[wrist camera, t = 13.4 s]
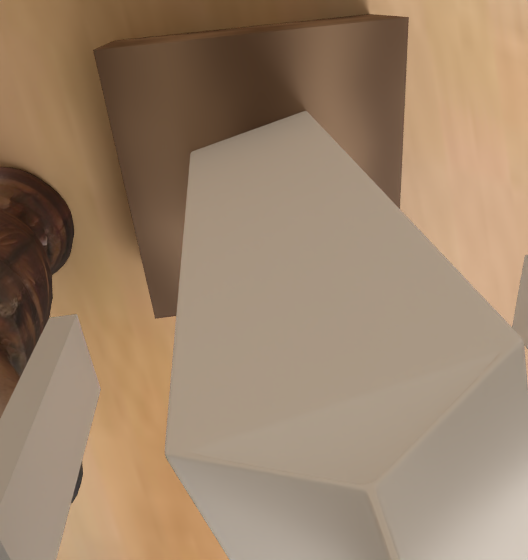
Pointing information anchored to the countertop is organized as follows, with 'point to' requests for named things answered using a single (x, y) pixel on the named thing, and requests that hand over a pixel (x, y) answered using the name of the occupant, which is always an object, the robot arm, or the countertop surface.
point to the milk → (337, 368)
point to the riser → (245, 111)
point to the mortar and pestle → (28, 270)
